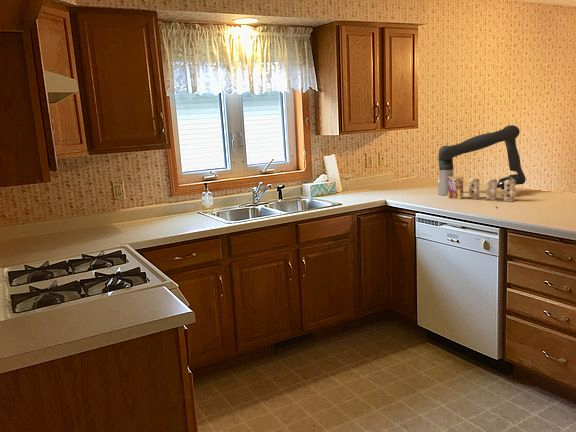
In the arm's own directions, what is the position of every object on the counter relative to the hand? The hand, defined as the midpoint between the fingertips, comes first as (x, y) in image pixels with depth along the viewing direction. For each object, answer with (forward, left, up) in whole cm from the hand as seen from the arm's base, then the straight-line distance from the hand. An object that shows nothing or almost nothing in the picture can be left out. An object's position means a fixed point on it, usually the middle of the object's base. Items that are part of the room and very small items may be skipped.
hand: (494, 186), depth 305 cm
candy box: (-21, -10, -9) cm, 25 cm away
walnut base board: (0, -5, -9) cm, 10 cm away
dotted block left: (-11, -5, -7) cm, 14 cm away
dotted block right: (+11, -5, -7) cm, 14 cm away
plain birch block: (0, -5, -7) cm, 8 cm away
